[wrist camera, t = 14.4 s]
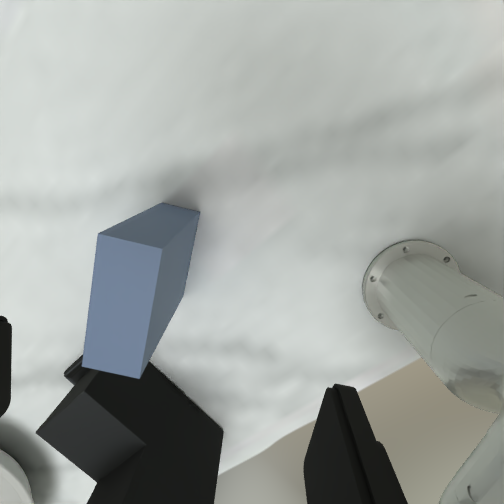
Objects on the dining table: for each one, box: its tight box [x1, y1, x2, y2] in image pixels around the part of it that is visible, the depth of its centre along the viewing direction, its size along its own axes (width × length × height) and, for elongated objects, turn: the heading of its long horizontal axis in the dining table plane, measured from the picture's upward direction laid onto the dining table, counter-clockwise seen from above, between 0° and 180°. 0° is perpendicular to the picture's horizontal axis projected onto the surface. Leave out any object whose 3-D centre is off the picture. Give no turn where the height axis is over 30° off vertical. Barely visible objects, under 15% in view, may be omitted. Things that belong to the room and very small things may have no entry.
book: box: [82, 203, 200, 379], centre depth 36 cm, size 12×5×18 cm, turn 166°
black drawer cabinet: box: [36, 355, 224, 504], centre depth 40 cm, size 23×11×24 cm, turn 42°
